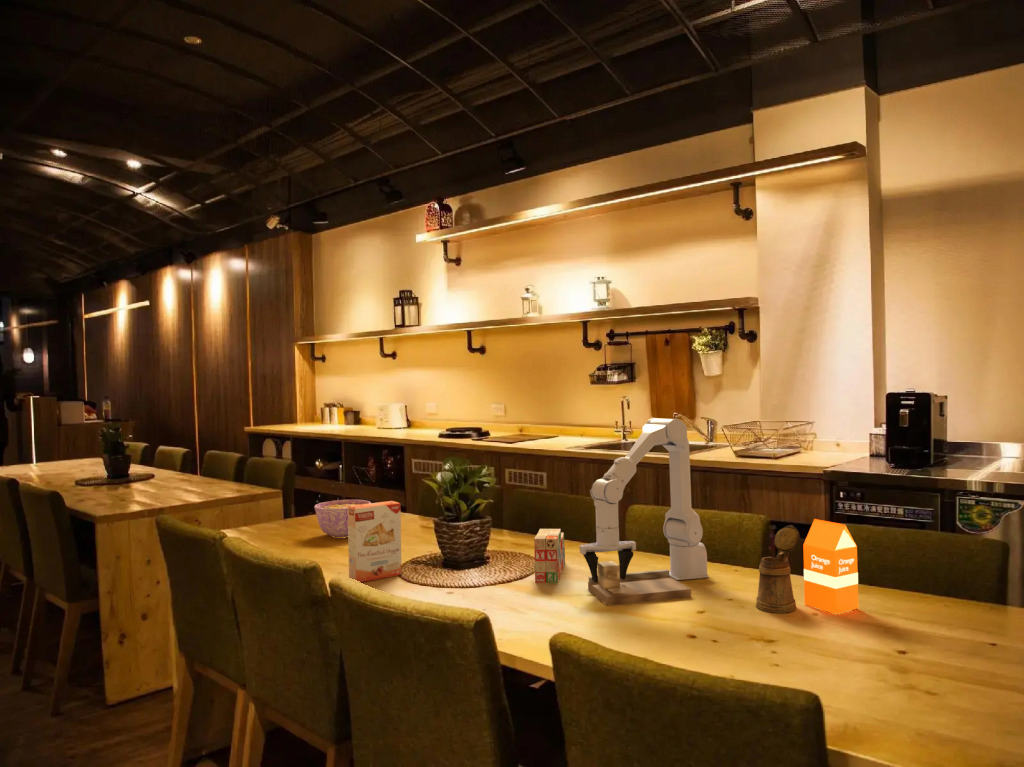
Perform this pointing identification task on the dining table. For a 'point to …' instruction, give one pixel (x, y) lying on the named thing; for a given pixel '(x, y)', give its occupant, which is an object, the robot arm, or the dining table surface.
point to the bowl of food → (335, 516)
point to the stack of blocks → (549, 555)
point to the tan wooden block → (608, 574)
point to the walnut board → (641, 588)
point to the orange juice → (830, 568)
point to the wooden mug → (778, 575)
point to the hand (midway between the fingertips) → (608, 579)
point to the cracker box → (374, 540)
